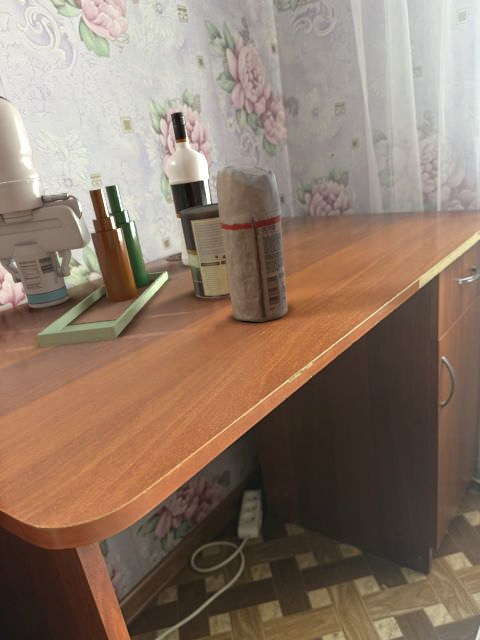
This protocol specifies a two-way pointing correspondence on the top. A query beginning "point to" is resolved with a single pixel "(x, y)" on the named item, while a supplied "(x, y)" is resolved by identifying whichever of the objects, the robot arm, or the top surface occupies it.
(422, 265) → the top surface
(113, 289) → the amber bottle
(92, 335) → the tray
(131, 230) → the green bottle
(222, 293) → the coffee can
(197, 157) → the vodka
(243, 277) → the spray can
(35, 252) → the beverage can
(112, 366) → the top surface
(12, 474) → the top surface
